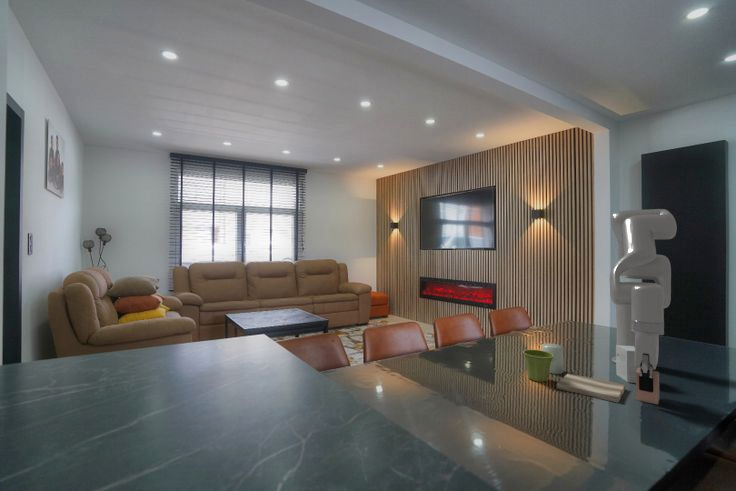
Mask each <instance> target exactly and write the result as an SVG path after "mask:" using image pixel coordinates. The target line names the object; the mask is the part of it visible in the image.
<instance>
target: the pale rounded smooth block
mask: <svg viewBox="0 0 736 491" xmlns="http://www.w3.org/2000/svg"><path fill="white" fill-rule="evenodd" d="M541 351H546V352H549V353H552V354H553V355H554V357H553V358H552V361H551V364H550V370H549V374H551V373H552V375H563V374H564V371H565V370H564V365H565V364H564V361H565V360H564V356H565V355H564V354H565V353H564V351H565V349H564V345H560V344H556V343H542V344H541ZM562 373H563V374H562Z"/></svg>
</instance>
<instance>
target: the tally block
mask: <svg viewBox="0 0 736 491" xmlns="http://www.w3.org/2000/svg"><path fill="white" fill-rule="evenodd" d="M639 375H640V368H638V369H637V371H636V383H635V400H636V401H640V402H645V403H648V404H654V405H659V402H660V371H657V370H656V371H652V378H653V392H652V393H651V392H647V391H642V390H639Z"/></svg>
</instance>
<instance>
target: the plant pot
mask: <svg viewBox="0 0 736 491" xmlns="http://www.w3.org/2000/svg"><path fill="white" fill-rule="evenodd" d="M522 353H523V354H524V358H525V363H526V371H527V373H526V374H527V377H528V379H529V380H530V379H531V381H533V382H538V383H539V382H540V383H543V382H548V381H549V376H550V373H549V370H550V364H551V361H552V358H553V357H554V355H553V354H552V353H549V352H546V351H542V349H541V350H539V349H524V350H523V351H522Z"/></svg>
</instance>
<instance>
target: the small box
mask: <svg viewBox="0 0 736 491" xmlns="http://www.w3.org/2000/svg"><path fill="white" fill-rule="evenodd" d="M615 357H616V363H615V369H616V371H615V373H616V374H615V375H616V376H618V377H619V378H620V379H622V380H623V381H625V382H627V383H630V384H631V383H632V384H636V371H637V369H638V368H640V365H639V366H638V367H636V366H635V365H634V361H635V347H634V346H622V345H617V344H616V345H615Z"/></svg>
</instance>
